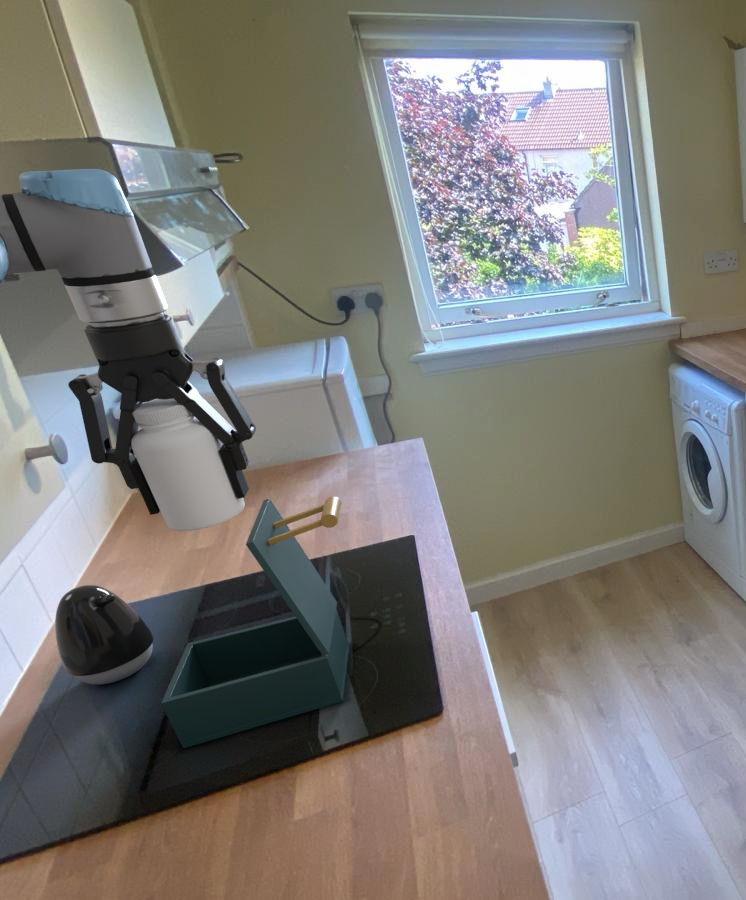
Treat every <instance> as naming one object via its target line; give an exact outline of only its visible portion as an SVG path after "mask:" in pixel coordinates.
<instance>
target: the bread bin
mask: <svg viewBox="0 0 746 900" xmlns="http://www.w3.org/2000/svg"><path fill="white" fill-rule="evenodd" d="M349 653H350V644H349V642H348V638H347V635H346V633H345V630H344V627H343V623H342V622H341V619H340V616H339V613H338V610H337V608H336V614H335V620H334V627H333V633H332V639H331V646H330V652H329V654H328V655H326V656H323V655H322V654H321V653H320V651H319V650H318V648H317V647H316V645H315V644H314V642H313V641H312V640H311V638H310V637H309V635H308V634H307V632H306V631H305V629H304V628H303V627H302V625H301V624H300V622H299V621H298V619H297V618H296V616H295V615H294V616H291V617H287V618H282V619H279V620H275V621H271V622H266V623H263V624H259V625H255V626H251V627H247V628H244V629H243V628H242V629H239V630H235V631H231V632H227V633H223V634H220V635H215V636H210V637H207V638H203V639H199V640H195V641H191V642H187V643H186V646H185V648H184V650H183V652H182V655H181V657H180V659H179V662H178V664H177V666H176V668H175V671H174V673H173V675H172V677H171V680H170V681H169V684H168V687H167V689H166V691H165V693H164V695H163V697H162V700H161V702H160V704H161V707H162V709H163V710H164V712H165V715H166V717H167V718H168V721H169V722H170V725H171V726H172V729H173V731H174V733H175V735H176V736H177V739H178V741H179V743H180V745H181V747H182V749H186V748H191V747H194V746H198V745H200V744H203V743H206V742H210V741H213V740H217V739H220V738H224V737H226V736H227V737H228V736H230V735H234V734H237V733H240V732H244V731H247V730H251V729H255V728H257V727H261V726H265V725H269V724H271V723H275V722H278V721H281V720H285V719H288V718H291V717H294V716H298V715H303V714H305V713H308V712H311V711H315V710H318V709H322V708H326V707H329V706H332V705H335V704H339V703H342V702H344V696H345V686H346V678H347V671H348V664H349V663H348V662H349Z"/></svg>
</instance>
